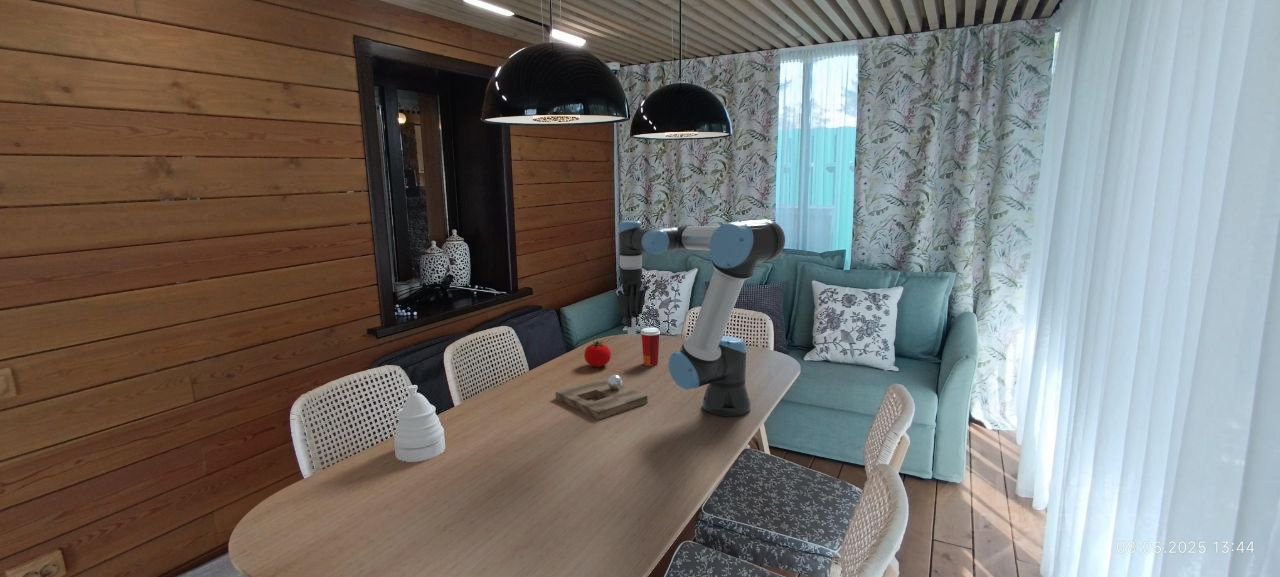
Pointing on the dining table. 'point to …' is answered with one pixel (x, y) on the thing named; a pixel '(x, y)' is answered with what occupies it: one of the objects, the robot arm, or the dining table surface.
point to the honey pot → (418, 430)
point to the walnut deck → (601, 398)
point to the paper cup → (650, 345)
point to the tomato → (597, 354)
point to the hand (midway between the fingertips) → (631, 335)
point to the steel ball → (614, 382)
